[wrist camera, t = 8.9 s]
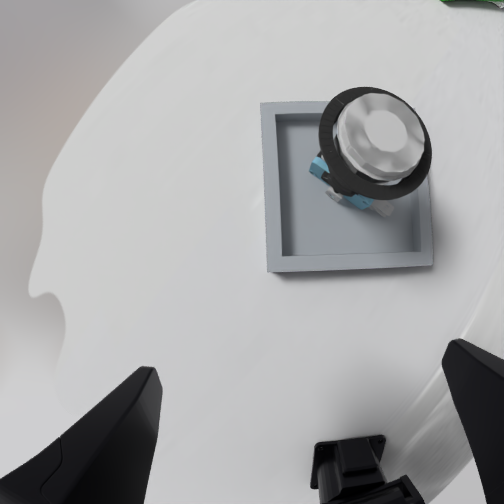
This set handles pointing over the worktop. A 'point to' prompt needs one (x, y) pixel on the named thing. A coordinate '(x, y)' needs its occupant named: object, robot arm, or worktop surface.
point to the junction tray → (329, 206)
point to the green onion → (499, 0)
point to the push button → (371, 148)
